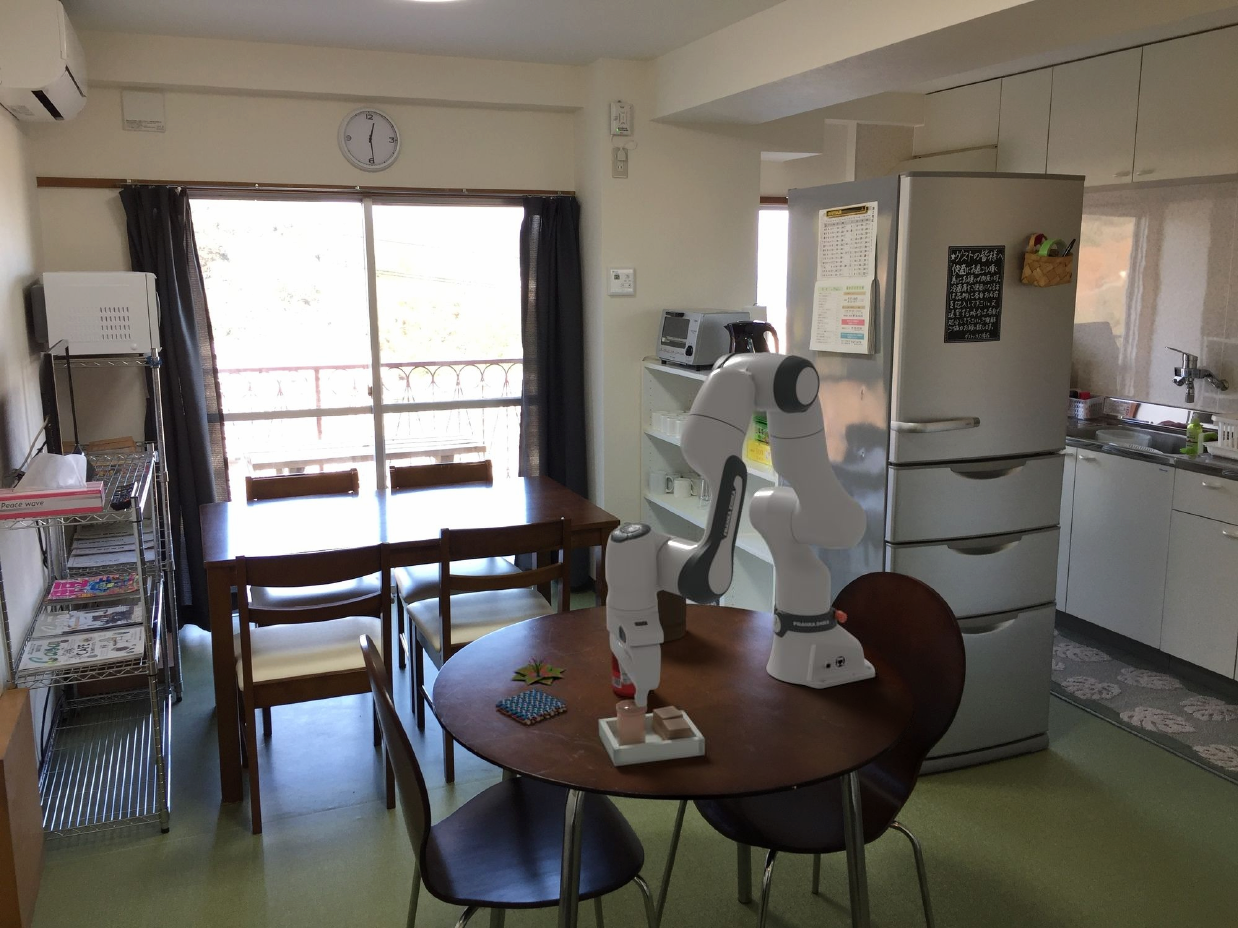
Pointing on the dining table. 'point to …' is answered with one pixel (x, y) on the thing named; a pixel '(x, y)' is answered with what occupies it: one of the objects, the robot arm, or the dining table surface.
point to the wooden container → (671, 615)
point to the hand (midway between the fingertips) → (633, 693)
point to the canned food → (617, 684)
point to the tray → (650, 744)
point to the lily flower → (538, 672)
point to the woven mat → (530, 706)
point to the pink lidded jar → (630, 723)
